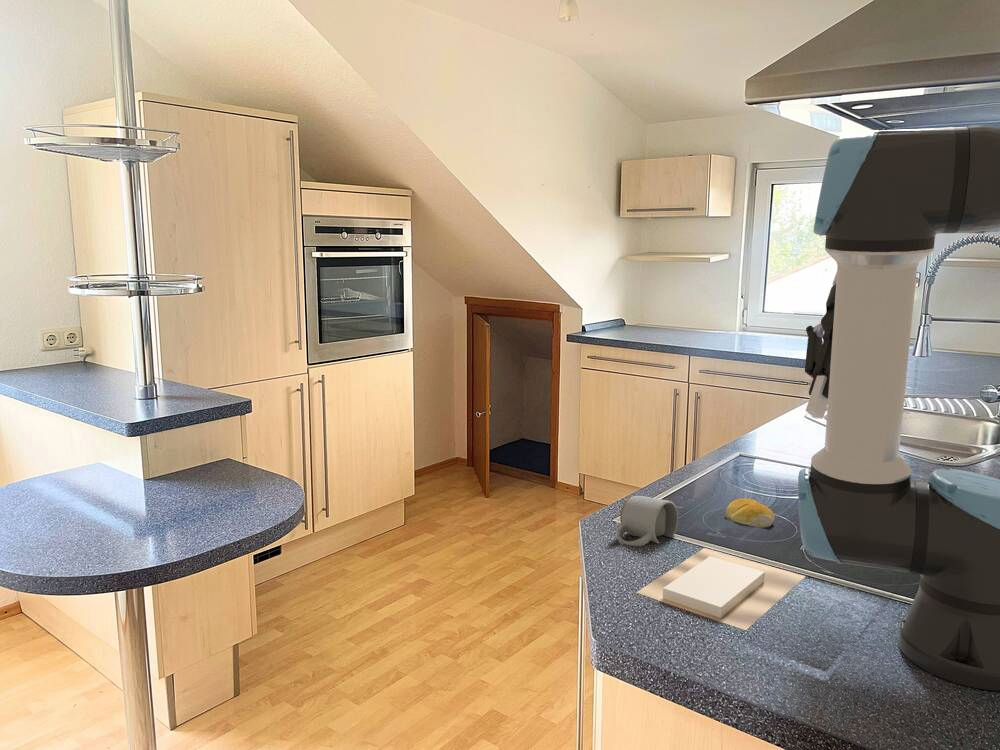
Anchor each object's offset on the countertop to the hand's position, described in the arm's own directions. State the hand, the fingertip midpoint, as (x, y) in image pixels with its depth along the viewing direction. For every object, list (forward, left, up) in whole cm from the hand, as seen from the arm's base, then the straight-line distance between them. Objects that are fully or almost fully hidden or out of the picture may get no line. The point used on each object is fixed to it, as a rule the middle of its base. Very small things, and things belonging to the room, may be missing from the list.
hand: (814, 414), depth 123 cm
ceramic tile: (-6, +15, -23) cm, 28 cm away
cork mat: (-10, +19, -24) cm, 32 cm away
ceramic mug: (+11, +24, -25) cm, 36 cm away
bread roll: (+17, +1, -25) cm, 30 cm away
